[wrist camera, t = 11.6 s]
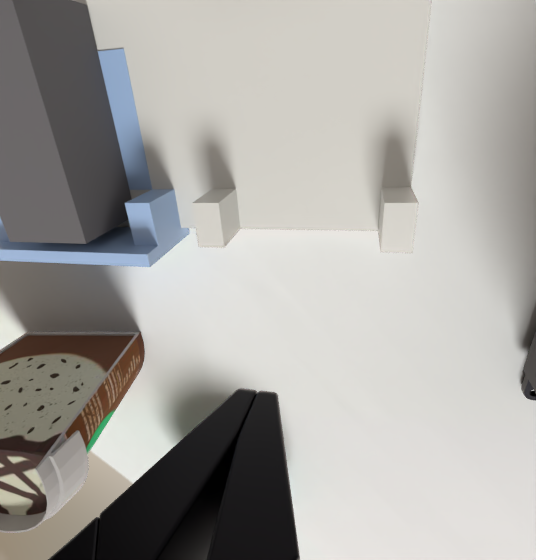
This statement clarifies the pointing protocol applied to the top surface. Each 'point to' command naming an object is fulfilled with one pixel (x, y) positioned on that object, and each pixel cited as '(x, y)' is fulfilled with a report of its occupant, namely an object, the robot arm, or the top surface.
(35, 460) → the food container
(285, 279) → the top surface
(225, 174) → the miniature room diorama
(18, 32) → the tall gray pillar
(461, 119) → the top surface
